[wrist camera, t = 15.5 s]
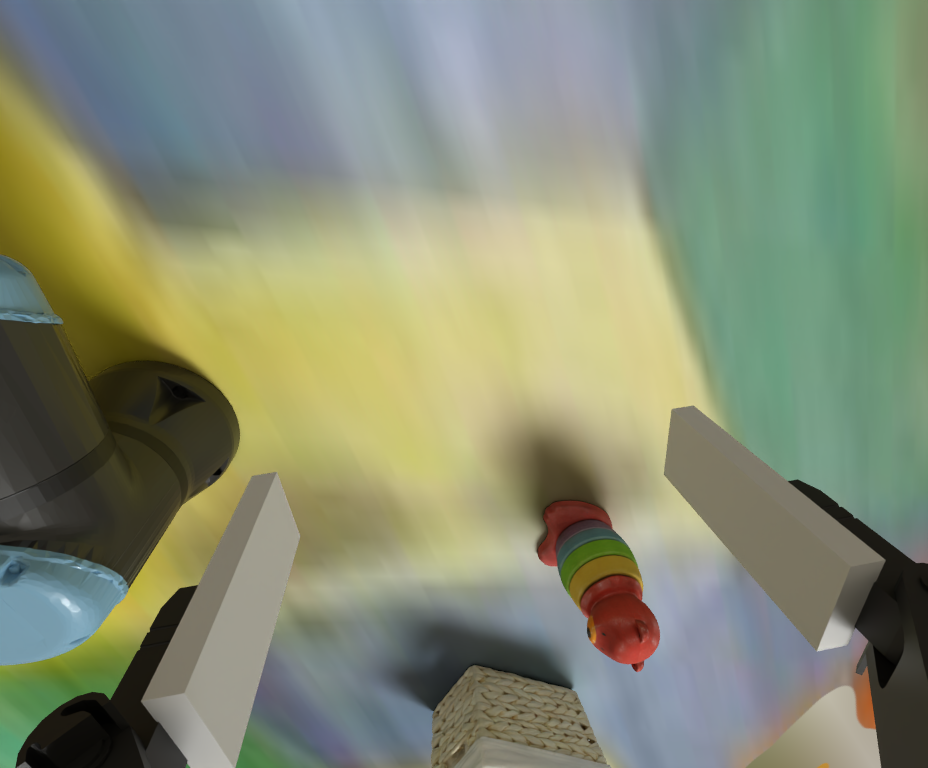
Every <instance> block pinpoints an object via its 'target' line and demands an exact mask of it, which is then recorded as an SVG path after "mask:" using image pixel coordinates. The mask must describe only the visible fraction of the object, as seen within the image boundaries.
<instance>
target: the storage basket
mask: <svg viewBox="0 0 928 768" xmlns="http://www.w3.org/2000/svg"><path fill="white" fill-rule="evenodd" d="M432 718H433V721H432V724H433V725H432V733H433V737H432V754H431V763H432V766H433V767H432V768H611V767H610V765H607V763H606V759H605V758H604V756H603V753H602V750H601V748H600V747H599V745H598V743H597V741H596V737H595V735H594V733H593V730H592V728H591V727H590V724H589V721H588V718H587V715H586V713H585V712H584V708H583V706H582V705H581V702H580V700H579V698H578V695H577V693H576V692H575V691H573V690H570V689H568V688H564V687H561V686H556V685H553V684H552V685H550V684H547V683H544V682H541V681H535V680H531V679H529V678H523V677H521V676H518V675H516V674H513V673H505V672H503V671H501V672H500V671H496V670H492V669H491V668H485V667H481V666H477V665H474V666H471V667H469V668H468V669H467V670H466V671H465V673H464V675H463V676H461V678H460V679H459V680H458V682H457V683H456V684H455V685H454V686H453V687H452V688H451V690H450V691H449V693H447V694H446V696H445V697H444V698H443V700H442V701H441V702H440V703H439V704H438V705H437V707H436V709H435V710H434V713H433V717H432ZM588 739H589V740H590V741H588Z"/></svg>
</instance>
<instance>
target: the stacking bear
mask: <svg viewBox="0 0 928 768" xmlns="http://www.w3.org/2000/svg"><path fill="white" fill-rule="evenodd" d="M543 519H544V521H545V522H546V524H547V526H548V534H547V537H546V539H545V540H544V541H543V543H542V544H541V545H540V546H539V548H538V557H539V559H540V560H541V561H542V562H543V563H544V564H546V565H548V566H558V571H559V575H560V578H561V581H562V583H563V586H564V587H565V589H566V591H567V592H568V594H569V596H570V597H571V598H572V599H573V601H574V602H575V604H576V605H577V607H578V608H579V609H580V610H581V611H582V613H583V615H584V616H585V617H587V618H588V623H587V634H588V637H589V639H590V641H591V642H592V644H593V645H594V646H595V647H596V648H597V649H598V650H600V651H601V652H602V653H604V654H605V655H607V656H608V657H610V658H611V659H613V660H615V661H617V662H619V663H622V664H631V665H632V667H633V669H634V670H635V671H637V672H639V671H641V670H642V668H643V666H644V660H645V659H647V658H649V657H650V656H651V655H652V654H653V653H654V651H655V650H656V648H657V646H658V644H659V640H660V630H659V626H658V623H657V620H656V618H655V616H654V614H653V613H652V612H651V610H650V609H649V608H648V607H647V605H646V604H645V603H643V602H642V592H643V582H642V578H641V575H640V572H639V569H638V565H637V563H636V560H635V558H634V555H633V554H632V552H631V550H630V548H629V547H628V545H627V544H626V543H625V541H624V540H623V539H622V538H621V537H620V536H619V535H618V534H617V533H616V532H615V531H614V530H613V529H612V524H611V520H610V518H609V516H608V515H607V513H606V512H605V511H603V510H602V509H600V508H599V507H597V506H594V505H592V504H589V503H585V502H580V501H559V502H555V503H552V504H551V505H550V506H549V507H547V508H546V510H545V513H544V516H543Z"/></svg>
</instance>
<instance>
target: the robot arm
mask: <svg viewBox="0 0 928 768" xmlns="http://www.w3.org/2000/svg"><path fill="white" fill-rule="evenodd" d="M61 324H63V321H62V318H60V317H59V316H58V315H56V314H54V312H53V310H52V308H51V306H50V305H49V303H48V301H47V299H46V297H45V295H44V294H43V292H42V290H41V288H40V286H39V285H38V283H37V281H36V279H35V277H34V276H33V274H32V273H31V272H30V271H29V270H28V269H27V268H26V267H25V266H24V265H23V264H21V263H20V262H18V261H16V260H14V259H12V258H10V257H8V256H5V255H1V254H0V665H14V664H24V663H30V662H36V661H41V660H45V659H49V658H52V657H55V656H58V655H61V654H63V653H65V652H68V651H70V650H72V649H74V648H75V647H77V646H79V645H80V644H82V643H83V642H85V641H86V640H87V639H88V638H89V637H90V636H91V635H93V634H94V633H95V632H96V631H97V629H98V628H99V627H100V626H101V624H102V623H103V621H104V620H105V619H106V617H107V616H108V615H109V613H110V612H111V611H112V609H113V608H114V607H115V605H117V604H118V603H119V602H120V601H121V600H123V599H124V598H125V596H126V594H127V592H128V589H129V588H130V586H131V584H132V583H133V581H134V580H135V578H136V577H137V575H138V573H139V572H140V570H141V569H142V567H143V566H144V564H145V562H146V561H147V559H148V558H149V556H150V555H151V553H152V551H153V550H154V548H155V547H156V545H157V543H158V542H159V540H160V539H161V537H162V536H163V534H164V532H165V531H166V529H167V528H168V526H169V525H170V523H171V521H172V520H173V518H174V517H175V515H176V513H177V512H178V510H179V509H180V507H181V506H182V505H183V504H184V503H186V502H187V501H188V500H190V499H191V498H193V497H194V496H196V495H197V494H199V493H200V492H202V491H203V490H205V489H206V488H207V487H209V486H210V485H212V484H213V483H214V482H216V481H217V480H218V479H219V478H220V477H221V476H222V475H223V473H224V472H225V471H226V469H227V468H228V466H229V465H230V463H231V461H232V460H233V458H234V456H235V454H236V452H237V449H238V446H239V440H240V430H239V424H238V420H237V417H236V415H235V413H234V411H233V409H232V407H231V405H230V404H229V402H228V401H227V400H226V398H225V397H224V396H223V395H222V394H221V393H220V392H219V390H217V389H216V388H215V387H214V386H213V385H212V384H210V383H209V382H208V381H206V380H205V379H203V378H202V377H200V376H199V375H197V374H195V373H193V372H191V371H189V370H186V369H184V368H181V367H178V366H175V365H172V364H168V363H163V362H156V361H133V362H126V363H122V364H118V365H115V366H113V367H110V368H108V369H106V370H104V371H103V372H101V373H100V374H98V375H97V376H95V377H94V378H92V379H91V380H89V381H88V380H87V378H86V376H85V374H84V372H83V370H82V368H81V366H80V364H79V361H78V359H77V357H76V355H75V353H74V351H73V349H72V347H71V345H70V342H69V340H68V338H67V336H66V334H65V332H64V330H63V328H62V326H61ZM664 475H665V476H666V478H667V479H668V480H669V481H670V482H671V483H672V484H673V486H674V487H675V488H676V489H677V490H678V491H679V493H680V494H681V495H682V496H683V497H684V498H685V500H686V501H687V502H688V503H689V504H690V505H691V506H692V508H693V509H694V510H695V511H696V512H697V513H698V515H699V516H700V517H701V518H702V519H703V520H704V522H705V523H706V524H707V525H708V526H709V527H710V528H711V530H712V531H713V532H714V533H715V534H716V535H717V537H718V538H719V539H720V540H721V541H722V542H723V543H724V545H725V546H726V547H727V548H728V549H729V550H730V552H731V553H732V554H733V555H734V556H735V557H736V559H737V560H738V561H739V562H740V563H741V564H742V565H743V567H744V568H745V569H746V570H747V571H748V572H749V574H750V575H751V576H752V577H753V578H754V579H755V580H756V582H757V583H758V584H759V585H760V586H761V587H762V589H763V590H764V591H765V592H766V593H767V594H768V596H769V597H770V598H771V599H772V600H773V601H774V602H775V604H776V605H777V606H778V607H779V608H780V609H781V611H782V612H783V613H784V614H785V615H786V616H787V618H788V619H789V620H790V621H791V622H792V623H793V624H794V626H795V627H796V628H797V629H798V630H799V631H800V633H801V634H802V635H803V636H804V637H805V638H806V639H807V641H808V642H809V643H810V644H811V645H812V646H813V648H814V649H815V650H816V651H821V650H826V649H831V648H836V647H841V646H845V645H848V643H849V641H850V639H851V636H852V634H853V632H854V630H855V627H856V628H857V629H858V630H859V631H860V632H861V633H862V634H863V635H864V636H865V637H866V638H867V639H868V643H867V646H866V648H865V650H864V652H863V654H862V656H861V658H860V660H859V662H858V664H857V669H856V673H857V674H860V675H862V674H863V672H864V670H865V668H866V667H867V666H868V674H869V681H870V688H871V696H872V703H873V710H874V717H875V725H876V732H877V739H878V747H879V754H880V761H881V768H928V564H926V563H915V562H914V561H912V560H911V559H910V558H908V557H907V556H906V555H904V554H903V553H902V552H901V551H899V550H898V549H897V548H895V547H894V546H893V545H891V544H890V543H889V542H887V541H886V540H885V539H883V538H882V537H881V536H880V535H878V534H877V533H876V532H874V531H873V530H872V529H870V528H869V527H868V526H866V525H865V524H864V523H862V522H861V521H860V520H859V519H857V518H856V519H855V518H854V517H853V515H852V514H851V513H849V512H848V511H847V510H845V509H844V508H843V507H839V506H838V503H836V502H835V501H834V500H832V499H831V498H830V497H828V496H827V495H826V494H824V493H823V492H822V491H820V490H818V489H816V488H814V487H812V486H810V485H808V484H806V483H804V482H802V481H800V480H792V481H787V480H785V479H784V478H783V477H782V476H780V475H779V474H778V473H777V472H775V471H774V470H773V469H772V468H770V467H769V466H768V465H767V464H765V463H764V462H763V461H762V460H760V459H759V458H758V457H757V456H755V455H754V454H753V453H752V452H750V451H749V450H748V449H747V448H745V447H744V446H743V445H742V444H740V443H739V442H738V441H737V440H735V439H734V438H733V437H732V436H731V435H729V434H728V433H727V432H726V431H724V430H723V429H722V428H721V427H719V426H718V425H717V424H716V423H714V422H713V421H712V420H711V419H709V418H708V417H707V416H706V415H704V414H703V413H702V412H701V411H699V410H698V409H697V408H696V407H694V406H688V407H682V408H676V409H672V411H671V419H670V428H669V436H668V444H667V452H666V461H665V469H664ZM299 539H300V534H299V532H298V529H297V526H296V523H295V521H294V518H293V515H292V512H291V510H290V507H289V504H288V501H287V499H286V496H285V493H284V490H283V488H282V485H281V482H280V479H279V477H278V474H277V472H274V473H268V474H262V475H255V476H252V478H251V480H250V482H249V484H248V486H247V488H246V490H245V492H244V494H243V496H242V498H241V500H240V502H239V504H238V506H237V508H236V510H235V512H234V514H233V516H232V518H231V520H230V522H229V524H228V526H227V528H226V530H225V532H224V534H223V536H222V538H221V540H220V542H219V544H218V546H217V548H216V550H215V552H214V554H213V556H212V559H211V561H210V563H209V565H208V567H207V569H206V571H205V573H204V575H203V577H202V579H201V581H200V583H199V585H196V586H190V587H185V588H180V589H179V590H178V591H177V592H176V593H175V594H174V595H173V596H172V597H171V598H170V599H169V600H168V601H167V602H166V603H165V604H164V606H163V607H162V608H161V609H160V611H159V613H158V615H157V617H156V618H155V620H154V622H153V624H152V626H151V627H150V632H149V633H147V635H146V636H145V638H144V640H143V642H142V644H141V646H140V647H141V648H140V650H138V651H137V653H136V655H135V656H134V658H133V660H132V662H131V664H130V665H129V667H128V669H127V671H126V673H125V674H124V676H123V678H122V680H121V682H120V683H119V685H118V687H117V689H116V691H115V693H114V694H113V696H112V698H111V700H109V699H108V697H107V696H106V695H105V694H104V693H96V692H91V693H87V694H84V695H80V696H77V697H75V698H73V699H72V700H70V701H68V702H66V703H64V704H63V705H61V706H59V707H58V708H57V709H56V710H54V711H53V712H52V713H51V714H49V715H48V716H47V717H46V718H44V719H43V720H42V721H41V722H40V723H39V725H38V726H37V727H36V728H35V729H34V730H33V731H32V733H31V734H30V735H29V736H28V737H27V739H26V741H25V742H24V744H23V746H22V748H21V750H20V751H19V753H18V757H17V762H16V767H15V768H185V767H186V764H187V763H188V765H189V766H190V767H191V768H235V767H236V763H237V759H238V756H239V752H240V749H241V745H242V742H243V738H244V734H245V731H246V727H247V724H248V720H249V717H250V713H251V710H252V706H253V702H254V699H255V695H256V692H257V688H258V685H259V681H260V677H261V674H262V670H263V667H264V663H265V660H266V656H267V653H268V649H269V645H270V642H271V638H272V635H273V631H274V628H275V624H276V620H277V617H278V613H279V610H280V606H281V603H282V599H283V596H284V592H285V588H286V585H287V581H288V578H289V574H290V571H291V567H292V563H293V560H294V556H295V553H296V549H297V546H298V542H299Z"/></svg>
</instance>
